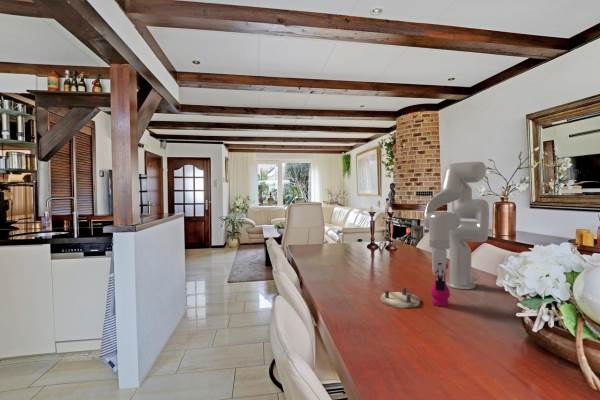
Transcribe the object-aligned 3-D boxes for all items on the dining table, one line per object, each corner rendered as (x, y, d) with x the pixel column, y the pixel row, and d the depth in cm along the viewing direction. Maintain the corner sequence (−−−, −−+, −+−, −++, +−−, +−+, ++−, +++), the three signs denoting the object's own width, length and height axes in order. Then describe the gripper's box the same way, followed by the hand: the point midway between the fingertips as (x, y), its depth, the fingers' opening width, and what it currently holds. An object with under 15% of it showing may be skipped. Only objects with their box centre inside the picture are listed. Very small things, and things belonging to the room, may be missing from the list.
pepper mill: (452, 307, 127) (451, 257, 126) (432, 306, 128) (432, 257, 127) (447, 301, 134) (446, 253, 133) (429, 300, 135) (428, 253, 135)
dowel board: (402, 293, 146) (402, 283, 146) (428, 304, 131) (428, 293, 131) (372, 298, 140) (372, 288, 139) (397, 310, 125) (397, 299, 125)
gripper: (429, 240, 140) (430, 281, 140) (429, 247, 124) (430, 293, 124) (448, 241, 137) (449, 283, 137) (450, 248, 121) (451, 295, 121)
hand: (440, 287), depth 131 cm, fingers closed on pepper mill, 5 cm apart
